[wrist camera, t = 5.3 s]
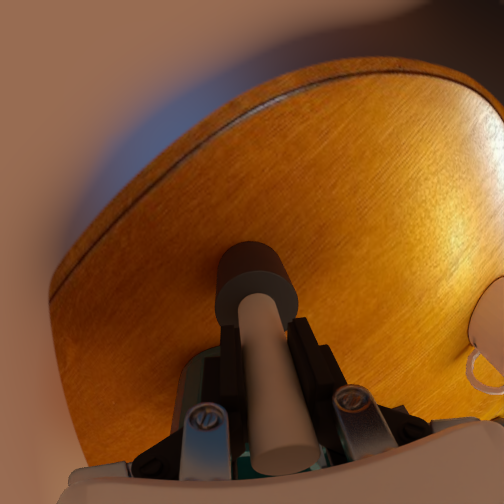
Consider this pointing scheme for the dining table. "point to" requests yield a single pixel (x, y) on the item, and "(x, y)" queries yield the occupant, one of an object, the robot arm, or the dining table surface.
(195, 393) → the jar
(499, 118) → the dining table surface
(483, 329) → the mug
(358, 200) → the dining table surface
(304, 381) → the robot arm
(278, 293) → the brush
